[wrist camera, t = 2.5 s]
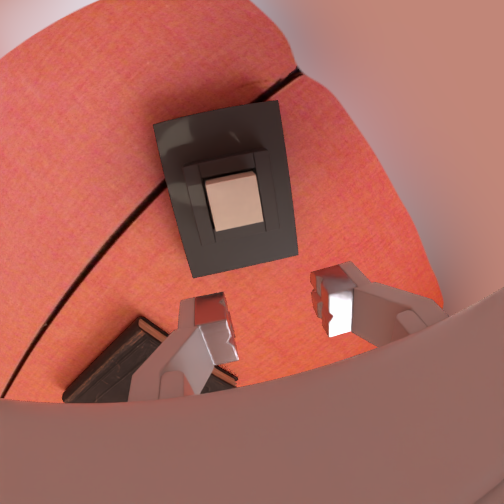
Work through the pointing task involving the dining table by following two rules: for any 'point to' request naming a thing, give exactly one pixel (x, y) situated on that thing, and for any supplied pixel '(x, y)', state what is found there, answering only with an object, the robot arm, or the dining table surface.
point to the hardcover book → (129, 368)
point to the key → (234, 200)
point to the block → (223, 164)
